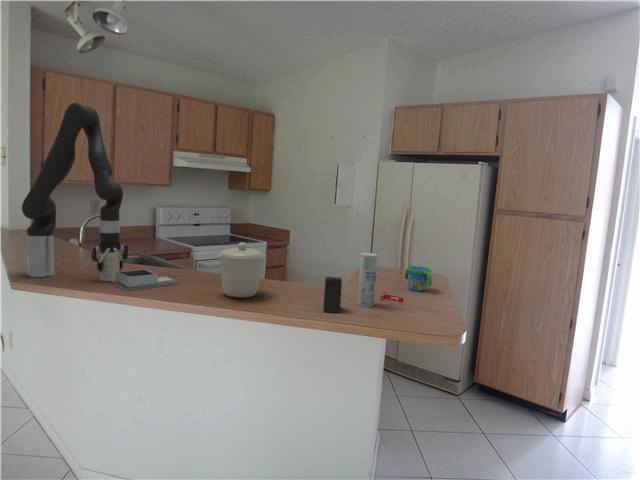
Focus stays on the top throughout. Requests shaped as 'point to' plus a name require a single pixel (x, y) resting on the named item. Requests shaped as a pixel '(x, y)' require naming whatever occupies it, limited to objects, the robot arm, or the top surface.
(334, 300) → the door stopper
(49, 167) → the robot arm
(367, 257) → the spray can
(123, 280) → the board
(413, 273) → the snack cup
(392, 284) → the top surface
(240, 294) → the canister
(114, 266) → the skincare box
